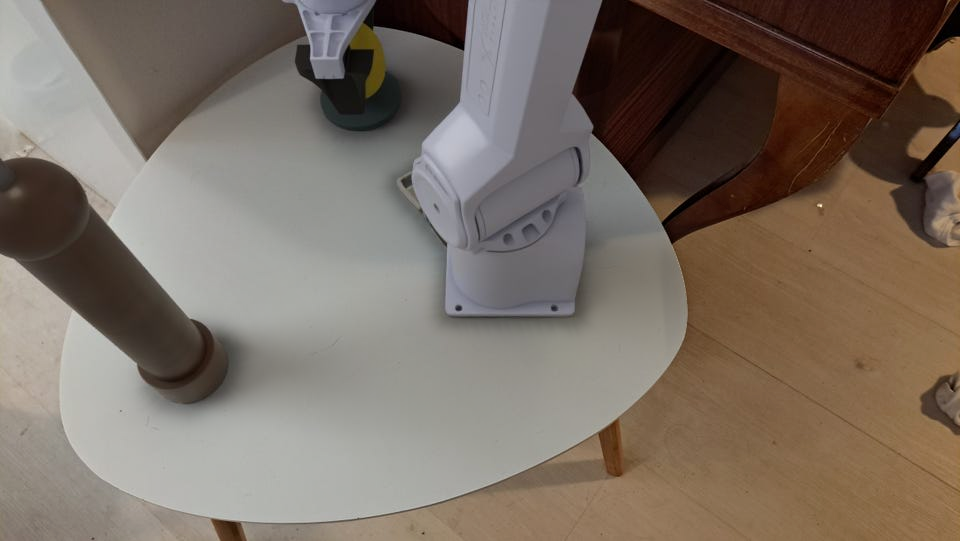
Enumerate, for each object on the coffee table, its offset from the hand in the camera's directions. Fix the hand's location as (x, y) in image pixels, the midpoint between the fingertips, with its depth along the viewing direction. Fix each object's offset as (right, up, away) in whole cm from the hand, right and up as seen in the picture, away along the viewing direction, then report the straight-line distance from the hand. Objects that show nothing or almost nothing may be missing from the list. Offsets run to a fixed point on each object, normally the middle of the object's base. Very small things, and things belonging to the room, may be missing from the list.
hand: (355, 76), depth 61 cm
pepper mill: (-10, -23, -9) cm, 27 cm away
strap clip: (+7, -12, -3) cm, 14 cm away
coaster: (0, -1, +3) cm, 3 cm away
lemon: (0, -1, +2) cm, 3 cm away
